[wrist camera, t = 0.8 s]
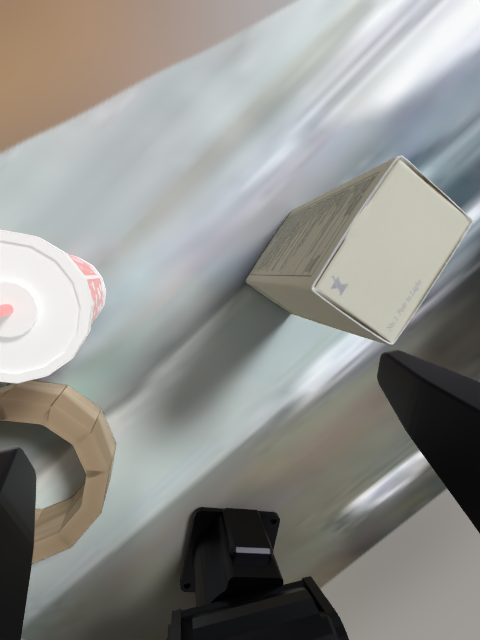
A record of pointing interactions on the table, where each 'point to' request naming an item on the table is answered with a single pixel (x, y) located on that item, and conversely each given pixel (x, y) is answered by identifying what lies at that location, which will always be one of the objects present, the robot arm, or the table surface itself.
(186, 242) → the table surface
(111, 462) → the holder ring
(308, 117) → the table surface
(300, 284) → the skincare box
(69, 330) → the beverage cup
